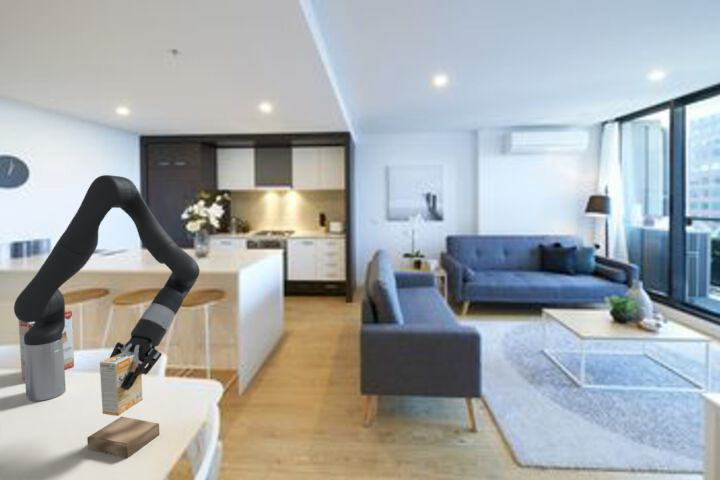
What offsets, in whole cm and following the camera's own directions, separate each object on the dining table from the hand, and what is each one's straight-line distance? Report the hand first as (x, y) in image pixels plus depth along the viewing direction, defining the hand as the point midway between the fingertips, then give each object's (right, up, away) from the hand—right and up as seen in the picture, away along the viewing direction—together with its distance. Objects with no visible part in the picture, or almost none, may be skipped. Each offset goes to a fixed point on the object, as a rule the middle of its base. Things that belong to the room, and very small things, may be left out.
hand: (115, 386), depth 99 cm
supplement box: (+1, -6, +2) cm, 7 cm away
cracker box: (-49, -11, +43) cm, 66 cm away
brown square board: (0, -15, +3) cm, 15 cm away
